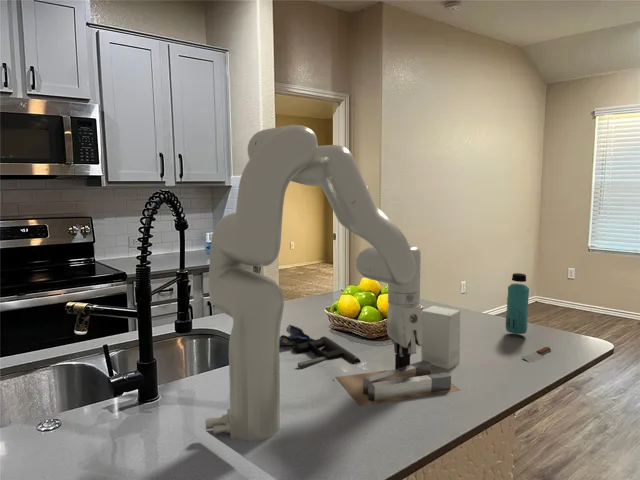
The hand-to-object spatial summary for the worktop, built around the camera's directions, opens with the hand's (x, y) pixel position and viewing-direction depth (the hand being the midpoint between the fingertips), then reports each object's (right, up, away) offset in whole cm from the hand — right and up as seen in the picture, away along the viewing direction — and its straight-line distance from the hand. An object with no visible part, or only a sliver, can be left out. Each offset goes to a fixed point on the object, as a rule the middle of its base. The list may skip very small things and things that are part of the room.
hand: (402, 369), depth 115 cm
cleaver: (+42, -2, +17) cm, 45 cm away
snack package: (-28, 0, +26) cm, 38 cm away
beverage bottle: (+42, +1, +34) cm, 54 cm away
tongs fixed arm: (0, -3, -9) cm, 10 cm away
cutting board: (-2, -4, -4) cm, 6 cm away
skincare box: (+11, -2, +9) cm, 15 cm away
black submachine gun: (-20, -2, +14) cm, 25 cm away
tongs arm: (-2, -2, -5) cm, 5 cm away
